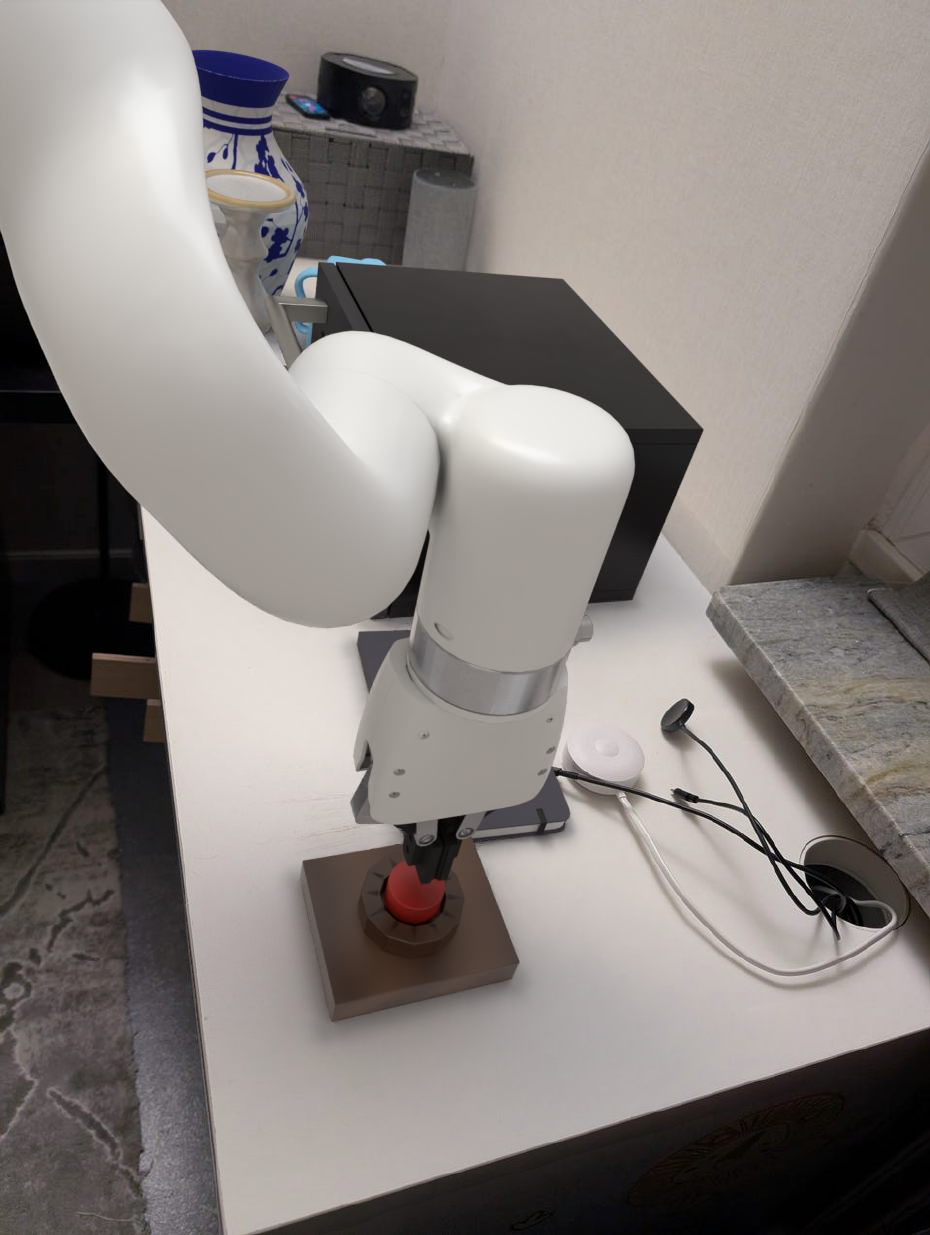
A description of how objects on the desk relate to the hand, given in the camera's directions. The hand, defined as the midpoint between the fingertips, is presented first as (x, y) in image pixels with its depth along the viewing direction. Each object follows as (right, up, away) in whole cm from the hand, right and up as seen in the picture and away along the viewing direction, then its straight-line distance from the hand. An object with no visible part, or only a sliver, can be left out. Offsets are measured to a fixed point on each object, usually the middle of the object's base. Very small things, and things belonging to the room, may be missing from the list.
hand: (426, 861), depth 55 cm
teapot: (-10, +48, +65) cm, 82 cm away
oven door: (-13, +25, +37) cm, 47 cm away
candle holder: (-25, +41, +52) cm, 71 cm away
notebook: (+1, +5, +19) cm, 20 cm away
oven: (+2, +26, +43) cm, 51 cm away
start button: (-1, -3, +3) cm, 4 cm away
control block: (-2, -6, +5) cm, 8 cm away
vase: (-30, +56, +67) cm, 92 cm away
